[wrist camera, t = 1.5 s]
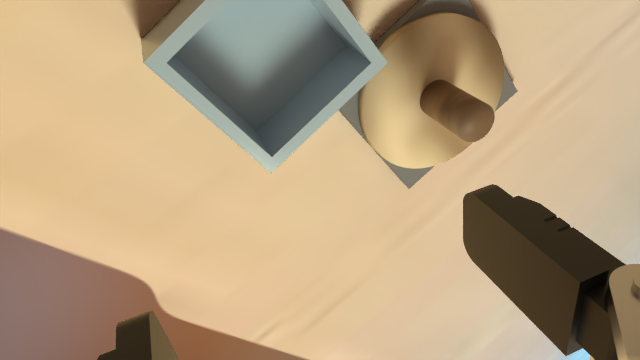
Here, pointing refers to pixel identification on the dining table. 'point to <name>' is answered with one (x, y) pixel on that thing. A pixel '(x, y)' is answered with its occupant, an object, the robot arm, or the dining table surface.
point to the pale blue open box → (263, 66)
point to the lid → (432, 90)
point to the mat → (427, 4)
